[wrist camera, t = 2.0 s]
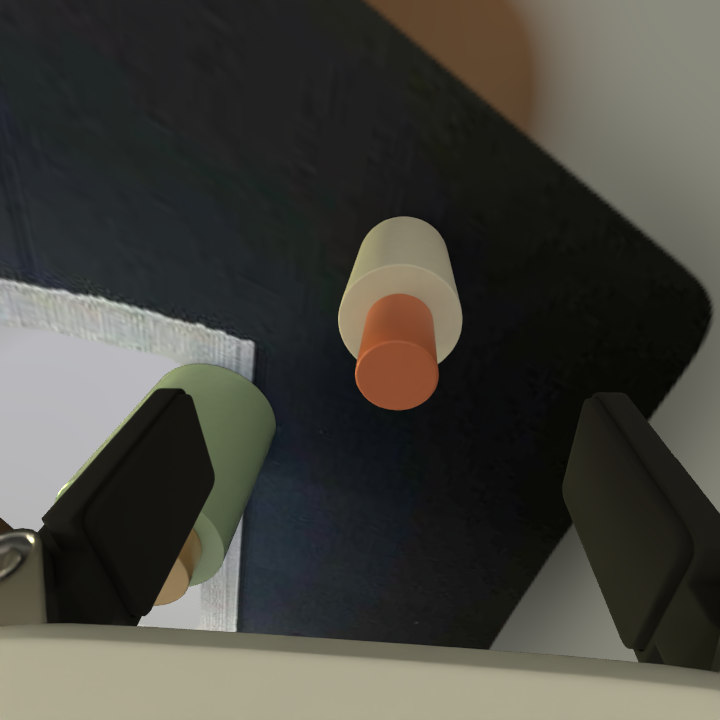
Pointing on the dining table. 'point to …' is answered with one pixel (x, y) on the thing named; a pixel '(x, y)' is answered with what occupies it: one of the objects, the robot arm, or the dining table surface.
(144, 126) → the dining table surface
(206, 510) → the green jar
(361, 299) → the small bottle
